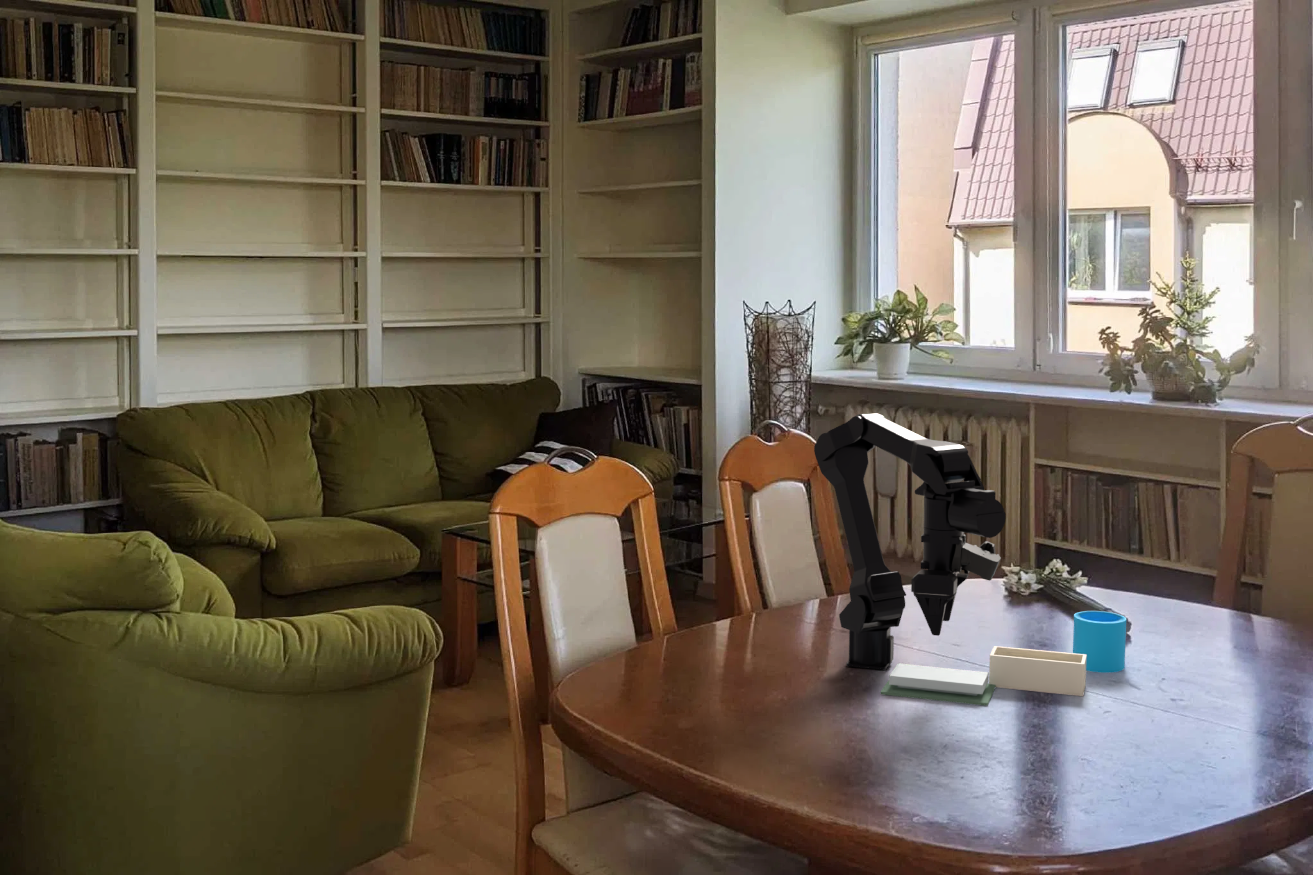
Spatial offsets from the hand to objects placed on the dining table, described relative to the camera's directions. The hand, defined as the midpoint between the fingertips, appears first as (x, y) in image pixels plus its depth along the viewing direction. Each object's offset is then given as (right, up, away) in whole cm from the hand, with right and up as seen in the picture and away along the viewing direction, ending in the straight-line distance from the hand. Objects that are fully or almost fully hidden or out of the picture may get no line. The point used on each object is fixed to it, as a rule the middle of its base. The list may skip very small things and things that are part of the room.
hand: (941, 627), depth 205 cm
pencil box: (+16, -10, +3) cm, 19 cm away
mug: (+30, -8, +16) cm, 35 cm away
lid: (0, -9, +1) cm, 9 cm away
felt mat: (0, -10, +1) cm, 10 cm away
